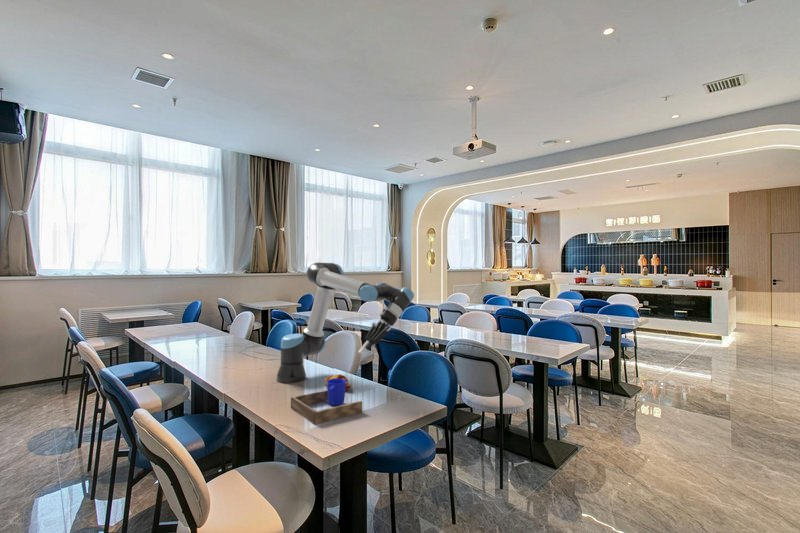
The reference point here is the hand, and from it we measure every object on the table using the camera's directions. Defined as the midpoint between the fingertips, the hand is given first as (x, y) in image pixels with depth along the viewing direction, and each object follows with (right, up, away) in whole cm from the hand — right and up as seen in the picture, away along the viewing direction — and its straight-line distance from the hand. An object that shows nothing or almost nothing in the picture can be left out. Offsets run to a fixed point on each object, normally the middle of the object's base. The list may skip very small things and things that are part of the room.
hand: (360, 354), depth 169 cm
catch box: (-13, -21, -11) cm, 27 cm away
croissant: (-14, -22, +21) cm, 34 cm away
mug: (-11, -21, -6) cm, 24 cm away
